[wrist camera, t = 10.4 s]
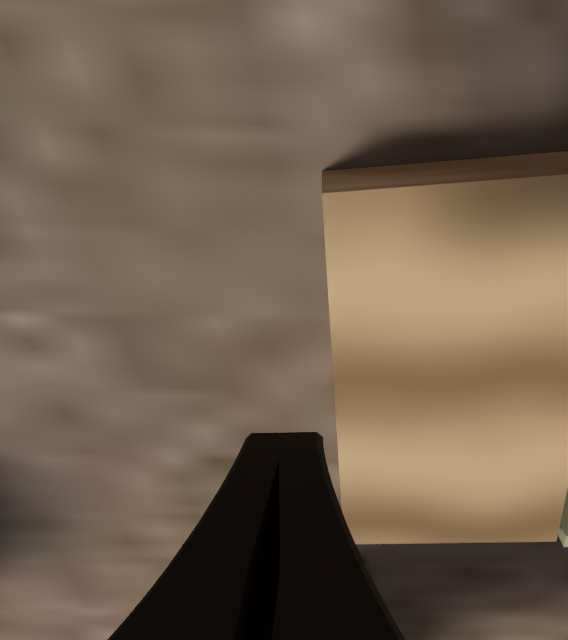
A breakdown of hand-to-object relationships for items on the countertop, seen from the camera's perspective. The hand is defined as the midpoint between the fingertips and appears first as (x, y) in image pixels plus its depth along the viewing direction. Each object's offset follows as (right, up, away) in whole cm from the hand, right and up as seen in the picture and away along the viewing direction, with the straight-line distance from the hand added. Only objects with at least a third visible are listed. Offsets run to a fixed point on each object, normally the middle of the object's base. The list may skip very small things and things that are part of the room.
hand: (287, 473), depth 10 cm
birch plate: (+6, +2, +9) cm, 11 cm away
